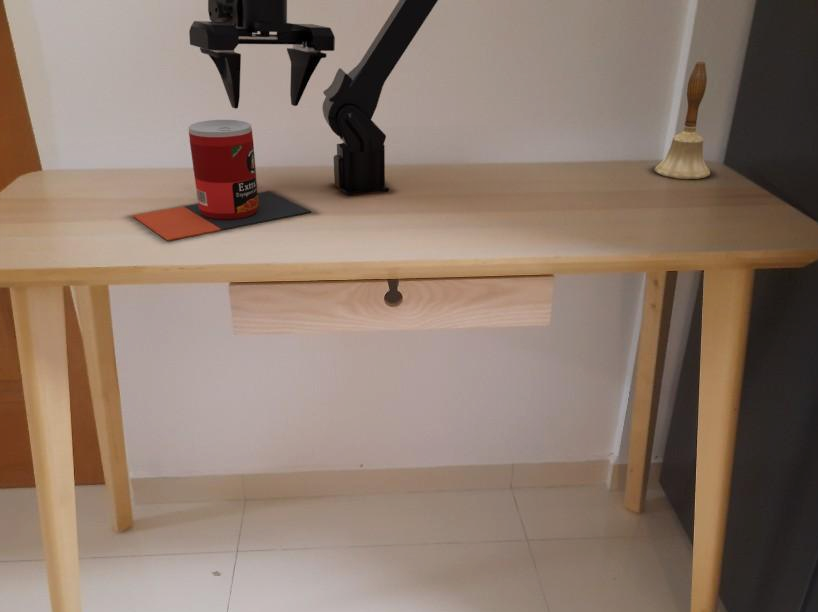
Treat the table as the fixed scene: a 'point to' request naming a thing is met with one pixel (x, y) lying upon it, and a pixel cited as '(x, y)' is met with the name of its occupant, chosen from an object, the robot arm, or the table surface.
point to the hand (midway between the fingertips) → (265, 106)
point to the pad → (176, 223)
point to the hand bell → (688, 136)
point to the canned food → (224, 168)
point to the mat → (258, 211)
